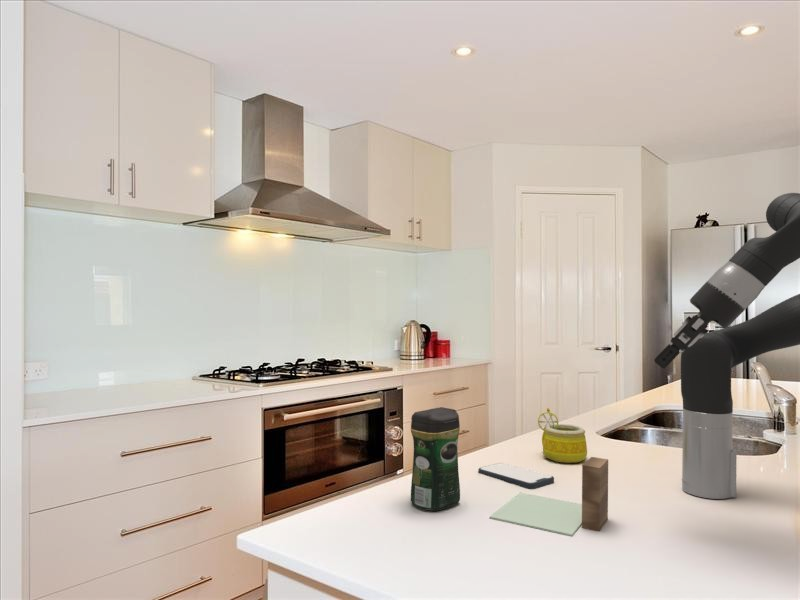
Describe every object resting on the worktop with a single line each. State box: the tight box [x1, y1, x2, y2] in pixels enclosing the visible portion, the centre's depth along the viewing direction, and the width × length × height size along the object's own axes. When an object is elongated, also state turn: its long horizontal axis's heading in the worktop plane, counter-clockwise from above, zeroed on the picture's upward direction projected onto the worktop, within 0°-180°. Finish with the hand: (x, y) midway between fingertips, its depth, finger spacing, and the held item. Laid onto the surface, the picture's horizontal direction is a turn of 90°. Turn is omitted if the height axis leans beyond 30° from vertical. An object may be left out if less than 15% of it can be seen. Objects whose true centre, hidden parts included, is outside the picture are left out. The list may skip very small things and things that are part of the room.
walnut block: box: [581, 456, 609, 532], centre depth 104 cm, size 3×6×11 cm, turn 148°
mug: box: [537, 407, 588, 464], centre depth 148 cm, size 13×11×12 cm
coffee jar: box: [410, 406, 461, 512], centre depth 114 cm, size 10×8×19 cm
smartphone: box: [477, 462, 555, 490], centre depth 132 cm, size 9×2×16 cm
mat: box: [489, 492, 582, 537], centre depth 109 cm, size 15×16×1 cm
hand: (659, 363), depth 104 cm, fingers open, 8 cm apart
